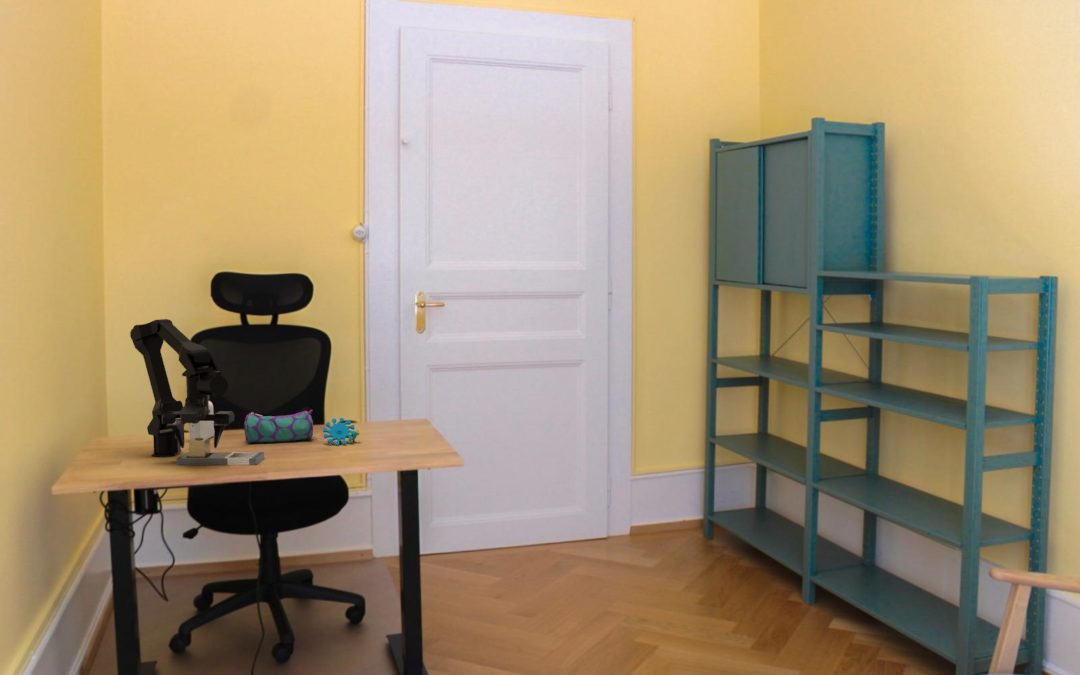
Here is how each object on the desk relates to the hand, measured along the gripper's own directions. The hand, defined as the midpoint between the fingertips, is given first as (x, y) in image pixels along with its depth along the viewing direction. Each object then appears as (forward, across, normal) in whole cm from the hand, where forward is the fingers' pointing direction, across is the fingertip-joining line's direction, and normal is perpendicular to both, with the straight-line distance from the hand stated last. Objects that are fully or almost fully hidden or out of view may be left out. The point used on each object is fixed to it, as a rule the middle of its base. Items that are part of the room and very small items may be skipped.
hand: (199, 447), depth 270 cm
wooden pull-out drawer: (+4, 0, 0) cm, 4 cm away
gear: (+4, +35, +25) cm, 43 cm away
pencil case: (+4, +15, +29) cm, 33 cm away
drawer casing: (+4, +6, 0) cm, 7 cm away
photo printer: (+4, -10, +32) cm, 34 cm away
